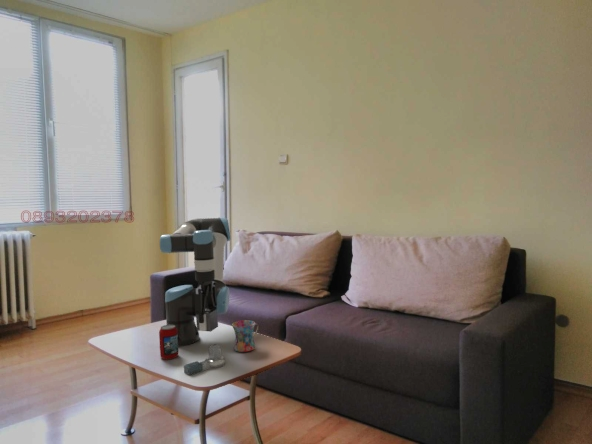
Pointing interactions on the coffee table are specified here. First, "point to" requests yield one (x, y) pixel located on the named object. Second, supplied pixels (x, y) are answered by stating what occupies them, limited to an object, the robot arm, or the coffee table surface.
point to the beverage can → (168, 342)
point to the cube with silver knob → (209, 319)
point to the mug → (244, 335)
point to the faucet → (206, 362)
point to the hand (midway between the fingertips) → (207, 327)
